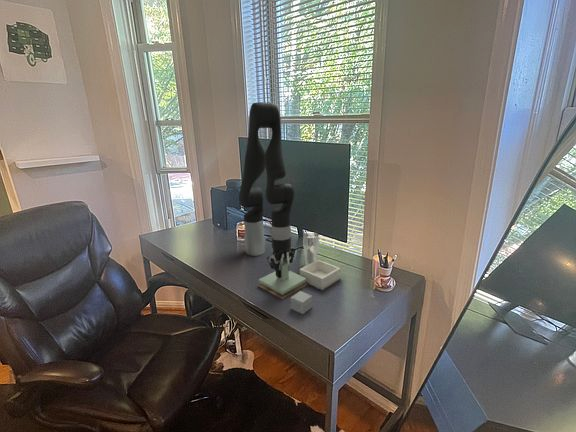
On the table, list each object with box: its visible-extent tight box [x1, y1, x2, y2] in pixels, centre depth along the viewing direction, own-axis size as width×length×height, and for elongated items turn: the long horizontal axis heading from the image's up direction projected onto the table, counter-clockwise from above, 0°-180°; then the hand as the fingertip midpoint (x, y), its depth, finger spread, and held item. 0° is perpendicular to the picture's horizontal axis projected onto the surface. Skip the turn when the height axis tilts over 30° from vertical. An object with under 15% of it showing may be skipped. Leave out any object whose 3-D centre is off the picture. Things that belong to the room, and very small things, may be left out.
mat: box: [257, 282, 308, 300], centre depth 128 cm, size 14×14×1 cm
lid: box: [258, 261, 307, 295], centre depth 126 cm, size 14×14×8 cm
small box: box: [290, 290, 313, 315], centre depth 113 cm, size 6×6×5 cm
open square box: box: [299, 259, 342, 291], centre depth 131 cm, size 12×12×5 cm
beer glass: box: [302, 231, 320, 267], centre depth 142 cm, size 7×7×15 cm
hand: (282, 275), depth 127 cm, fingers closed on lid, 3 cm apart
